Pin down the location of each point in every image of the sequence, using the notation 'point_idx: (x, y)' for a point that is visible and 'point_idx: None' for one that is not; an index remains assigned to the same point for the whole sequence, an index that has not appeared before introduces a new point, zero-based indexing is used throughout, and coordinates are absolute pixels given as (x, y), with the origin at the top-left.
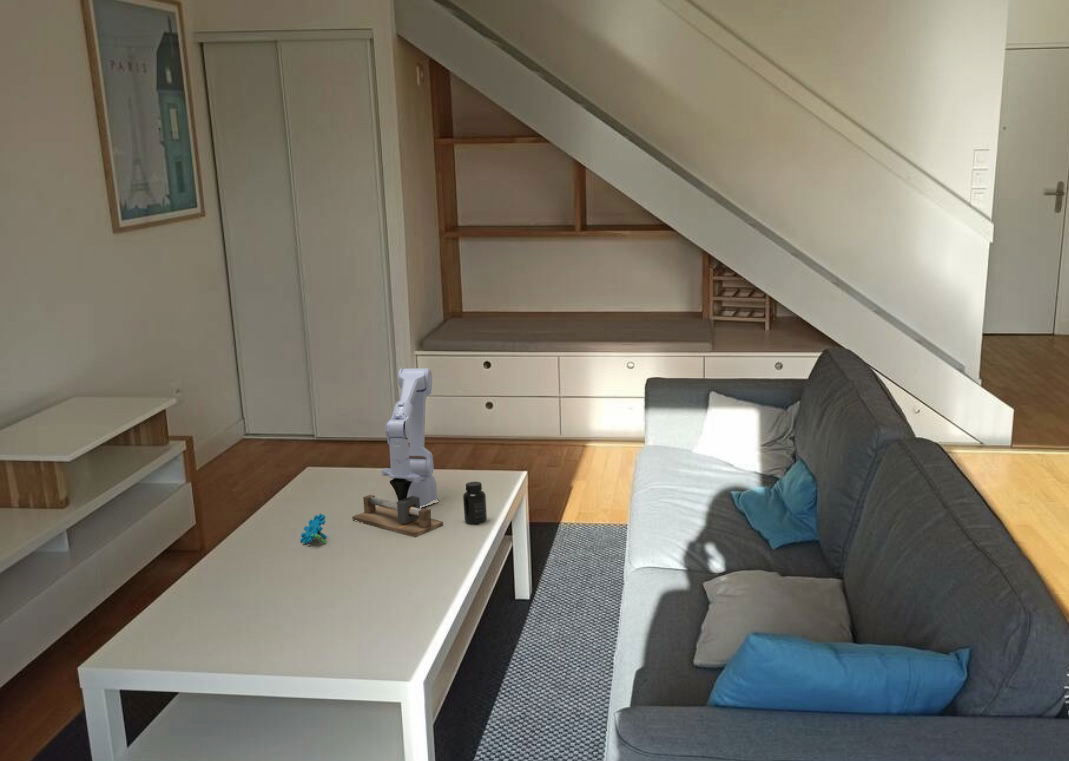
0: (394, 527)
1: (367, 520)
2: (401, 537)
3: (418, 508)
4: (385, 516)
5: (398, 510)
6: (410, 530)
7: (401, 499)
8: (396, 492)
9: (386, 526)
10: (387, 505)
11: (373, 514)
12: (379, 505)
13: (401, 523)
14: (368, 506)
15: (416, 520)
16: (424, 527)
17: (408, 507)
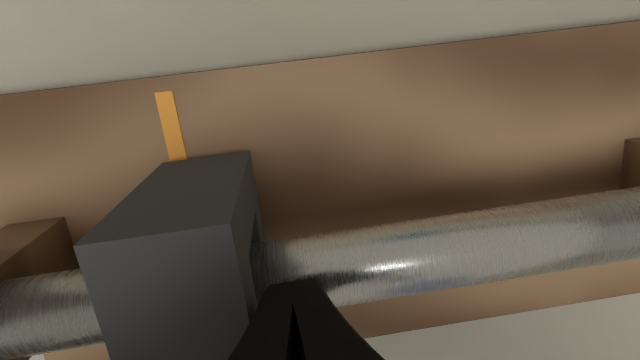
0: (212, 78)
1: (530, 35)
2: (49, 21)
3: (46, 337)
4: (476, 188)
5: (226, 185)
6: (43, 122)
7: (258, 312)
8: (333, 349)
9: (302, 60)
10: (476, 216)
11: (584, 155)
12: (578, 196)
13: None
14: None
15: None
16: (1, 229)
17: None
